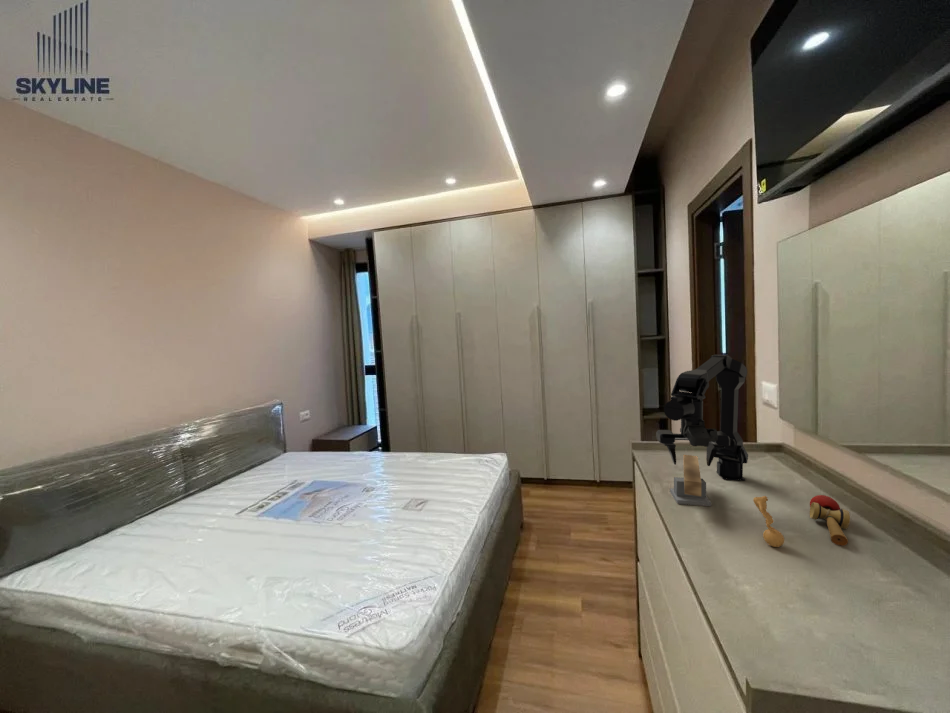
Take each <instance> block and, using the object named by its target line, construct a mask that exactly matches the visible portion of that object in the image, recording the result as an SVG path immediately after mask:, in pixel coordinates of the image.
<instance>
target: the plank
mask: <svg viewBox="0 0 950 713" xmlns="http://www.w3.org/2000/svg"><path fill="white" fill-rule="evenodd" d="M682 458H683V462H682V463H683V465H682V466H683V478H684V490H685V494H688V495H694V496H701V479H702V477H701V471H700V465H699V464H700V463H699V457H698V456H697V455H690V454H683V457H682Z"/></svg>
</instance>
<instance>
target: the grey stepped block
mask: <svg viewBox="0 0 950 713" xmlns="http://www.w3.org/2000/svg"><path fill="white" fill-rule="evenodd" d="M669 492H670V494H671V496H672V498H673V499H674V501H675V502H676V504H677V505H687V504H688V505H689V504H690V505H689V506H701V507H702V506H705V507H711V506H712V501H711V500H710V499H709V498H708V496H707V482H706V481H705V480H704V479H703V478H701V496H694V495H688V494H685V490H684V477H681V476H680V477H678V476H677V477H676V476H674V477H673V487H672V488H671V487H669Z"/></svg>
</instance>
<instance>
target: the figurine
mask: <svg viewBox="0 0 950 713" xmlns="http://www.w3.org/2000/svg"><path fill="white" fill-rule="evenodd" d="M752 501H753V504H754V505H755V506H756V507H757V509H758V511H759V512H760V513H761V514H762V516H763V518H764V519H765V524H766V525H765V526H766V527H767V528H766V529H765V530H764V531H763V533H762V538H763V540H764V542H765V543H766V544H767V545H769V546H770V547H775V548H780V547H782V546H783V545H784V544H785V537H784V534H782V532H780V531H779V530H778V529H775V527H772V526H771V525H772V524H773V523H775V521H774V519H773V516H772V515H771V514H770V513H769V512H768V511H767V510H768V505H767V501H769V499H768V497H767V496H766V495H763V496H755V497H753V499H752Z"/></svg>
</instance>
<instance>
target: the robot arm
mask: <svg viewBox="0 0 950 713" xmlns="http://www.w3.org/2000/svg"><path fill="white" fill-rule="evenodd" d="M747 375H748V369H747V367H746V366H745V364H744V363H742V362H741V361H738V360H737V359H734V358H732V356H730V355H728V354H713V355H710V357H709V359H707V360H706V361H705V362H704V363H702V364H701V365H699V366H698V367H696V369H692V370H686V371H684V372H681V373H680V374H679V375H678V376H677V378H676V381H675V382H674V386H673V388H672V391H671V393H670V400H669V401H667V402H666V403H665V405H664V407H663V412H664V414H665V416H666V417H667V418H668V419H669V420H671V421H680V428H679V432H680V433H673V431H671V430H670V429H658V430H656V432H655V438H656V440H657V441H658V442H659V443H660V444H663V446H664V447H667V450H668V452H669V455H670V457H671V460H672V463H673V464H674V465H677V455H676V454H677V453H676V444H675V442H676V441H688V442H689V444H690V445H691V446H692V447H705V448H706V457H705V458H706V466H707V467H710V466H711V464H712V462H713V460H714V458H717V459H718V461H716V474H718V476H719V477H721V478H722V480H730V481H746V479H745V477H744V473H743V471H744V464H748V460H749V453H748V452H747V450H746V448H745V447H744V440H743V438H742V436H741V435H740V433H739V432H738V419H739V417H738V416H739V389H740V388H741V387H742V386H743V385H744V383H745V381H746V377H747ZM713 378H715V382H716V383H717V384H718V386H719V387H720V390H721V392H720V393H721V394H720V420H719V421H720V426H719V430H718V431H717V429H716V428H706V426H705V420H704V399H706V395H705V394H706V392H707V390H708V389H709V387H710V381H711V380H712V379H713Z"/></svg>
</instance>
